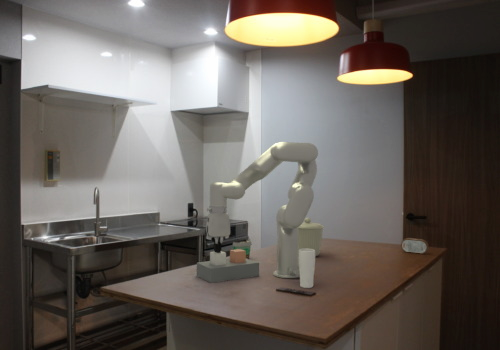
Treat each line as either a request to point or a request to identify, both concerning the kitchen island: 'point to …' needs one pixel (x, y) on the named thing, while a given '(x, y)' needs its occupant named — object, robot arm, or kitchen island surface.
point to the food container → (243, 247)
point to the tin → (415, 245)
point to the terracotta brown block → (237, 256)
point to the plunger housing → (227, 270)
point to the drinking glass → (306, 267)
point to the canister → (310, 236)
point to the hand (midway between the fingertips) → (217, 252)
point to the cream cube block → (217, 258)
